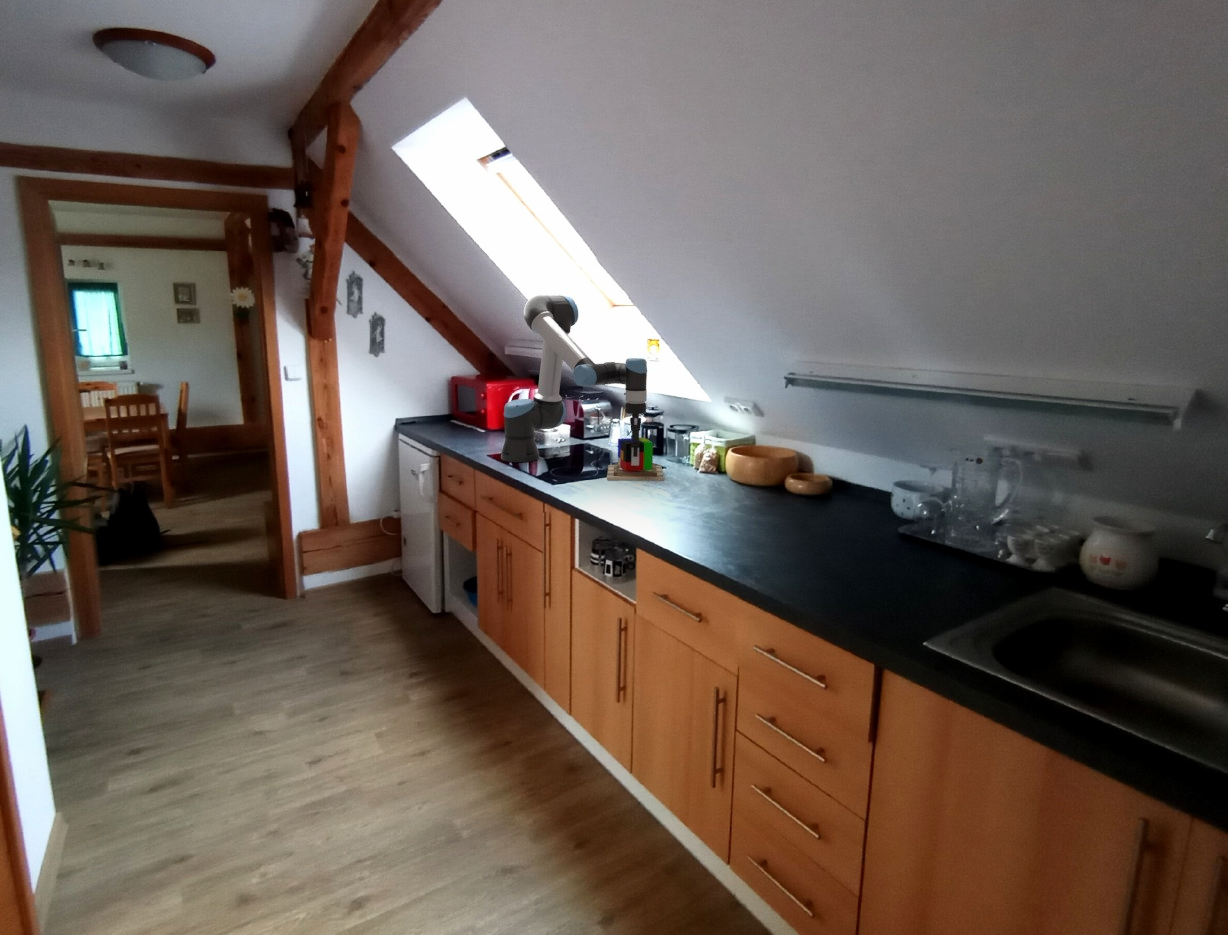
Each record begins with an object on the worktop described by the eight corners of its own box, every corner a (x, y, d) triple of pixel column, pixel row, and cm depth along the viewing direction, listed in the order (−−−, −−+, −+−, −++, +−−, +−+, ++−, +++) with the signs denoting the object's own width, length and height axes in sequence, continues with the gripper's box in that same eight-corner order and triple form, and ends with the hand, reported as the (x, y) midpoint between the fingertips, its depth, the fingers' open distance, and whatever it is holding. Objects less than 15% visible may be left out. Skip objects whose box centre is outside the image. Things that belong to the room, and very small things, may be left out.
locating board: (608, 467, 265) (608, 462, 265) (661, 468, 265) (661, 462, 264) (606, 480, 246) (606, 474, 245) (663, 480, 245) (663, 474, 245)
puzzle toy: (617, 465, 258) (618, 438, 256) (643, 463, 261) (643, 437, 259) (625, 471, 249) (626, 443, 246) (652, 469, 252) (652, 442, 249)
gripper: (625, 397, 261) (624, 454, 266) (625, 406, 238) (624, 468, 243) (645, 398, 261) (644, 455, 266) (647, 406, 238) (646, 469, 243)
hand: (635, 461), depth 254 cm, fingers closed on puzzle toy, 11 cm apart
